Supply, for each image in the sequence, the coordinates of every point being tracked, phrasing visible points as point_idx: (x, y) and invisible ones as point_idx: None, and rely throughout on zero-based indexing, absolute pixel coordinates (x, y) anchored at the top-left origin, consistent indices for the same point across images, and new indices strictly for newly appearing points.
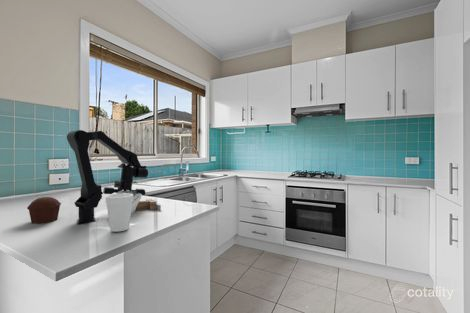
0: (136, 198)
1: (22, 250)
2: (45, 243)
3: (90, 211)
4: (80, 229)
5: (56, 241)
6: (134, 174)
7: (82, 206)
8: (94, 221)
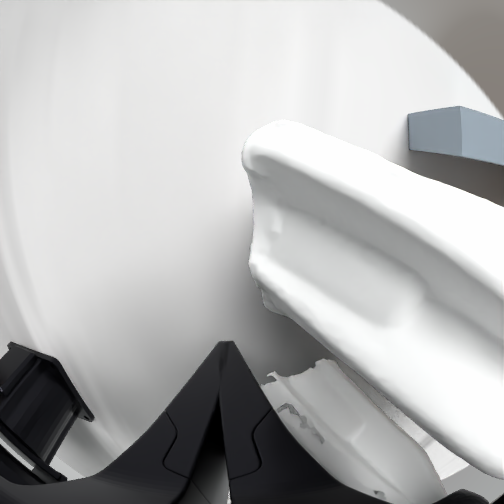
0: (432, 486)
1: (65, 462)
2: (78, 465)
3: (54, 452)
4: (94, 452)
5: (91, 471)
6: None
7: (7, 444)
8: (91, 419)
